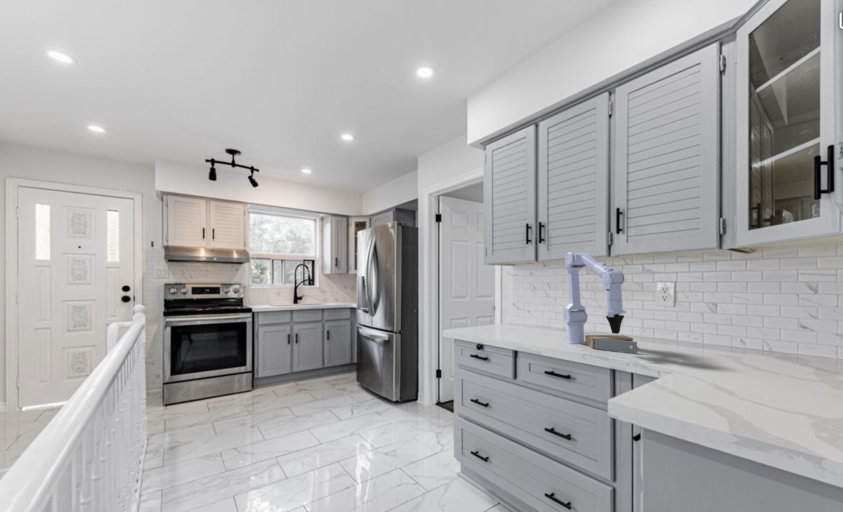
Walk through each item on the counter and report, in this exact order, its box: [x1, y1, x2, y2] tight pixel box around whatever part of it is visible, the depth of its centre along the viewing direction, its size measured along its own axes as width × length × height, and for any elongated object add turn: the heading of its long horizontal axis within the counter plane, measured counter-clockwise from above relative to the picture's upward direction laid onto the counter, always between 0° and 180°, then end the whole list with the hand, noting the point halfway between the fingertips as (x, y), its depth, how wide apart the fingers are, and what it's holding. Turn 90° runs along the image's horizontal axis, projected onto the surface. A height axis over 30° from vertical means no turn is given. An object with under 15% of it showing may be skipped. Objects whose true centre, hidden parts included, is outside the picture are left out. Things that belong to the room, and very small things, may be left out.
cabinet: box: [584, 334, 634, 350], centre depth 165 cm, size 9×17×4 cm, turn 85°
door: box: [593, 338, 638, 354], centre depth 155 cm, size 2×17×4 cm, turn 50°
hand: (615, 333), depth 150 cm, fingers closed
